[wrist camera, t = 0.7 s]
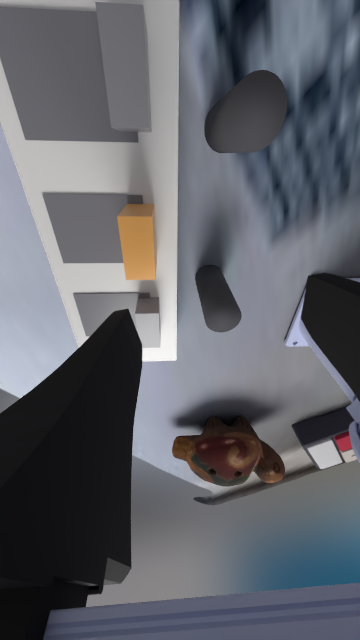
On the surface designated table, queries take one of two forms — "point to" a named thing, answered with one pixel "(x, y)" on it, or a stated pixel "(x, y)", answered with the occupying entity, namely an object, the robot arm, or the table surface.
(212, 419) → the decorative turtle
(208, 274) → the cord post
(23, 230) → the table surface
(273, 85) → the disc
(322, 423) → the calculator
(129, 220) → the block
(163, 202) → the breaker panel
